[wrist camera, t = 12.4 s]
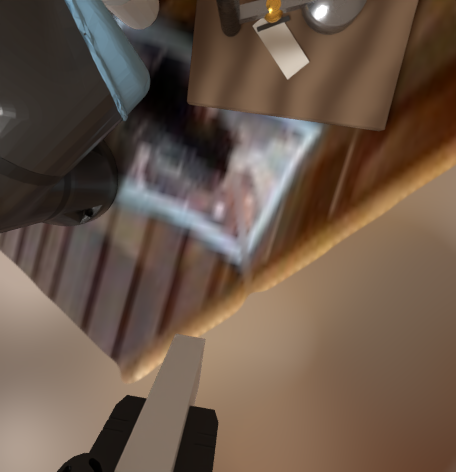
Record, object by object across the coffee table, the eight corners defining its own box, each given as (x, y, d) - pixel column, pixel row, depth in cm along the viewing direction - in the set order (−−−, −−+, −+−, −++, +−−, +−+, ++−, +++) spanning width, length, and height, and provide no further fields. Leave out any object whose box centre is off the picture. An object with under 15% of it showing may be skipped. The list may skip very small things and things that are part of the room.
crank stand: (189, 104, 39) (186, 101, 37) (207, -74, 34) (205, -87, 32) (379, 130, 38) (385, 129, 36) (425, -48, 33) (435, -61, 31)
